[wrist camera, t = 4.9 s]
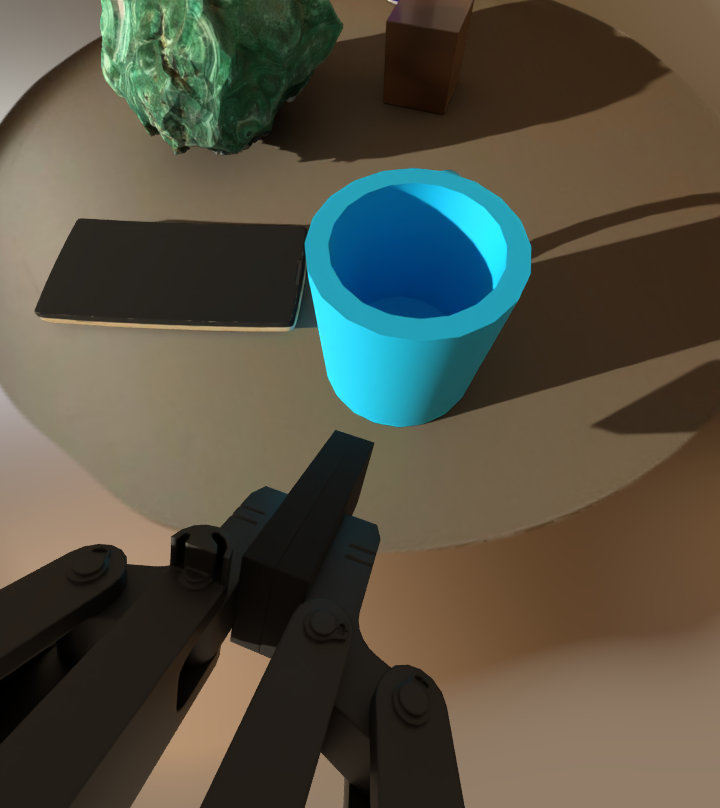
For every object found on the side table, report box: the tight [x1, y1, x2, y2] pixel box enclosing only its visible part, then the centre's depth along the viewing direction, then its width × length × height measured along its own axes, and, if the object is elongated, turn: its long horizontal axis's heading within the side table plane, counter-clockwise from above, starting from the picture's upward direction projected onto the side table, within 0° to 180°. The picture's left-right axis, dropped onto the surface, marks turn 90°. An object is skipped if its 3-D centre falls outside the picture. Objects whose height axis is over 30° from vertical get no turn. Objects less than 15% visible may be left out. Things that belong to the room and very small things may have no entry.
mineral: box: [100, 0, 343, 155], centre depth 26 cm, size 18×16×10 cm
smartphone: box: [35, 219, 308, 331], centre depth 23 cm, size 7×1×15 cm
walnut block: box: [383, 0, 474, 114], centre depth 29 cm, size 5×5×5 cm
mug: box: [305, 168, 531, 427], centre depth 18 cm, size 12×8×8 cm
